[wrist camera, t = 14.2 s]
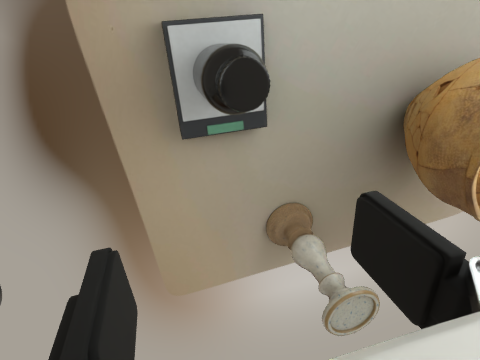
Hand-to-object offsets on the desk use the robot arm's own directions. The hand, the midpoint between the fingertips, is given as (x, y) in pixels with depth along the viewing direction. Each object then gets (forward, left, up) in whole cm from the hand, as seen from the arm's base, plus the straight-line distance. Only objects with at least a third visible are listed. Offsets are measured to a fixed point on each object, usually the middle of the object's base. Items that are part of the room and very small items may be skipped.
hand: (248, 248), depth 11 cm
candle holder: (+15, -25, -32) cm, 43 cm away
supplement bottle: (+5, +3, -30) cm, 30 cm away
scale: (+5, +2, -32) cm, 33 cm away
